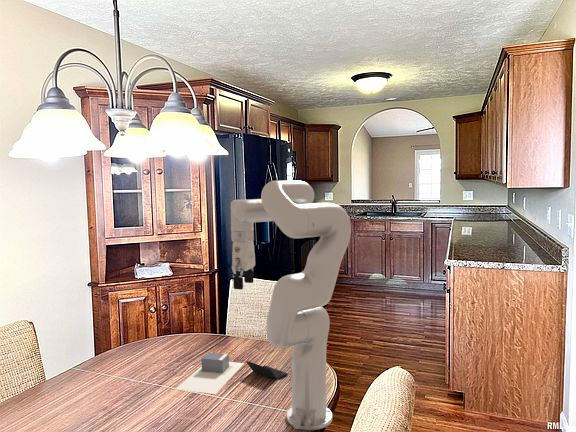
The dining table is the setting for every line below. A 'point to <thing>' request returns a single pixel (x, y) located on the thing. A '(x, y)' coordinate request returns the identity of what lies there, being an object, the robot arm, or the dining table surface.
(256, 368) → the handheld gaming console
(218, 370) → the card box
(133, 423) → the dining table surface
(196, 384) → the mat
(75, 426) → the dining table surface
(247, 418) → the dining table surface
